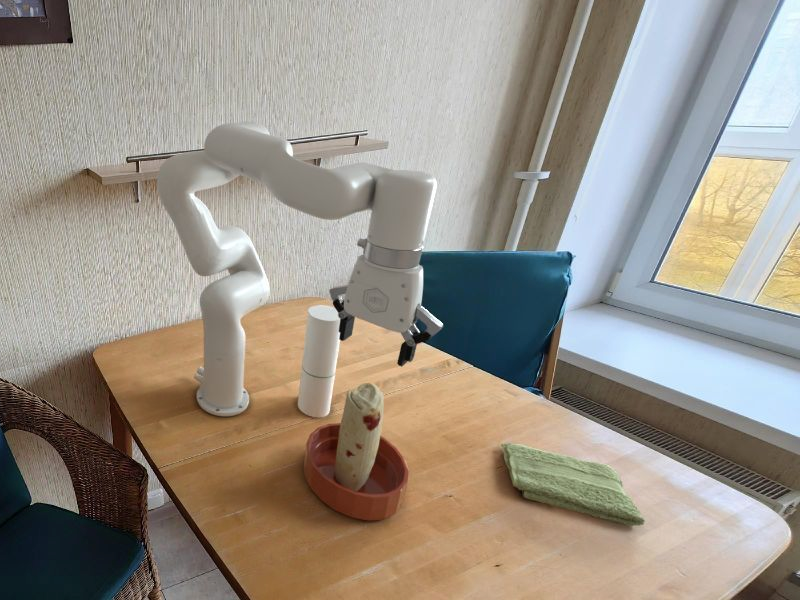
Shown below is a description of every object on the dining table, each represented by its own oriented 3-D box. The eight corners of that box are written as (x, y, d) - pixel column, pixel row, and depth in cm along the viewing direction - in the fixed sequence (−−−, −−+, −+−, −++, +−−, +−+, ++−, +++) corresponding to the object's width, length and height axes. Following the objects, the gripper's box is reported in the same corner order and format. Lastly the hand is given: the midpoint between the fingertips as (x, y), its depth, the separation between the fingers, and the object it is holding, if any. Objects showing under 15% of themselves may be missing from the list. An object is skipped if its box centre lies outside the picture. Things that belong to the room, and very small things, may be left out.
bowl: (285, 476, 82) (288, 452, 80) (332, 433, 92) (336, 411, 90) (375, 542, 70) (381, 516, 68) (418, 484, 80) (424, 460, 78)
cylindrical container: (329, 400, 102) (342, 307, 93) (330, 420, 96) (344, 322, 87) (298, 394, 104) (308, 303, 96) (296, 413, 98) (307, 318, 89)
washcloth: (496, 446, 88) (500, 434, 87) (610, 476, 80) (617, 463, 79) (511, 496, 77) (516, 483, 76) (646, 536, 70) (654, 522, 68)
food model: (365, 506, 75) (384, 415, 68) (326, 488, 79) (340, 401, 72) (374, 467, 83) (391, 382, 76) (338, 453, 86) (351, 371, 79)
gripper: (326, 245, 69) (313, 336, 75) (446, 277, 56) (419, 384, 62) (349, 235, 73) (336, 322, 79) (466, 263, 61) (439, 364, 67)
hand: (372, 349), depth 71 cm, fingers open, 9 cm apart
